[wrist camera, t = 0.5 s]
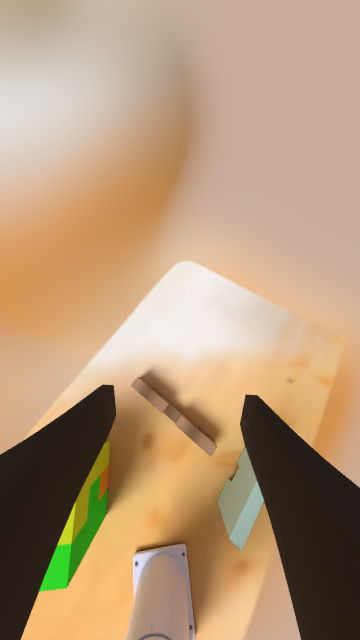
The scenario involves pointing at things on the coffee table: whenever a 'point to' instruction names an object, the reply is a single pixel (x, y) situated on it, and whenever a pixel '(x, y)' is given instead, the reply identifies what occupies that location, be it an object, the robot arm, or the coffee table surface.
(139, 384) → the walnut rail
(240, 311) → the coffee table surface
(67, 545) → the puzzle toy
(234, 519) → the teal plate
